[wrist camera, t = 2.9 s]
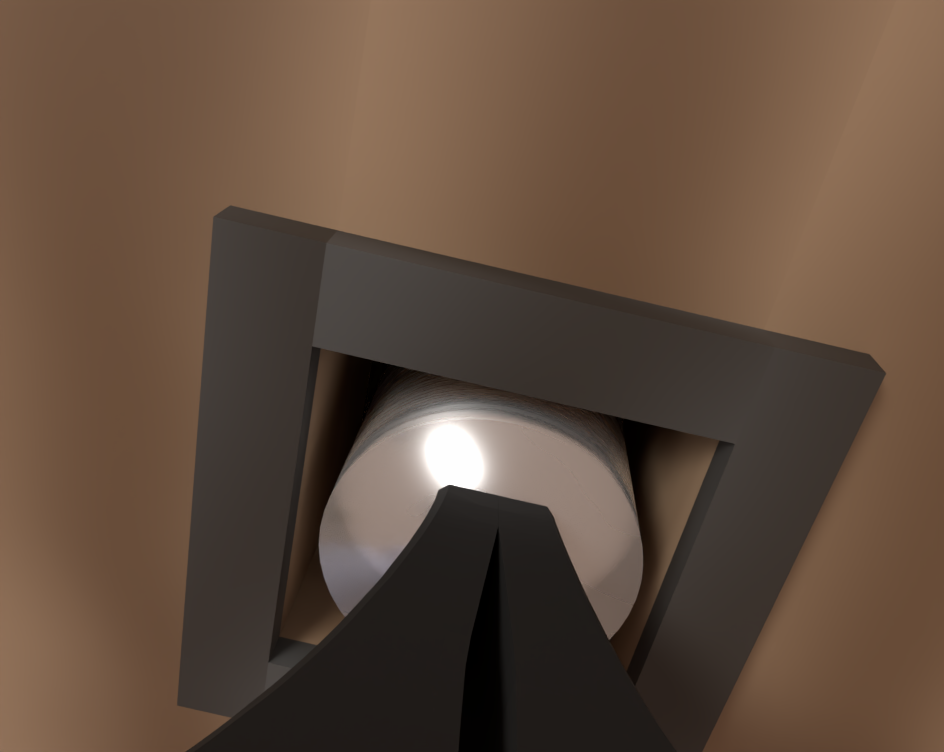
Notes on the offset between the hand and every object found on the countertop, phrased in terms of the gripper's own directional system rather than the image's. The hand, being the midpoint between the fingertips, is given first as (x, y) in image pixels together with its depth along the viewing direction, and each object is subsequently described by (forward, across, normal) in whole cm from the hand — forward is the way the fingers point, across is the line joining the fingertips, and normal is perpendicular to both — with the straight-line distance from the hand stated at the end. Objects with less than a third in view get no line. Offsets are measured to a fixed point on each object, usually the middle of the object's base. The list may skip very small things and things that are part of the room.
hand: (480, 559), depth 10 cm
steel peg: (+5, 0, 0) cm, 5 cm away
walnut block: (+5, 0, 0) cm, 5 cm away
